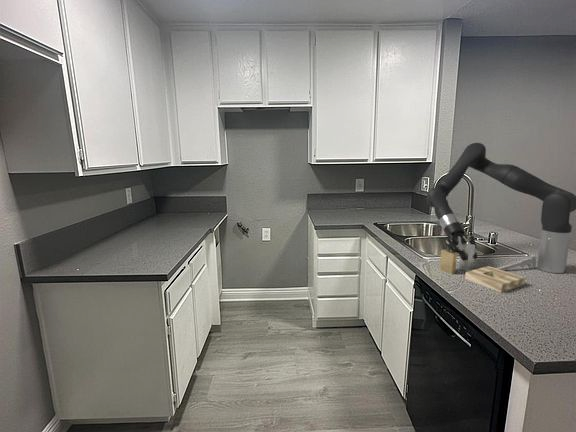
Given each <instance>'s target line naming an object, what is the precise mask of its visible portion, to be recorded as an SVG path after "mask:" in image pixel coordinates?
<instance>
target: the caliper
mask: <svg viewBox="0 0 576 432" xmlns="http://www.w3.org/2000/svg"><path fill="white" fill-rule="evenodd" d="M526 266H527V268H528V269H531V270H532V269H535V268H537V258H536V257H535V254H531V255H529V257H527V258H523V259H521V260H519V261H517V262H513V263H510V264H507V265H504V266H499V267H496V269H499V270H503V271H507V270H510V269H515V268H517V267H522V268H523V267H526Z"/></svg>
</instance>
